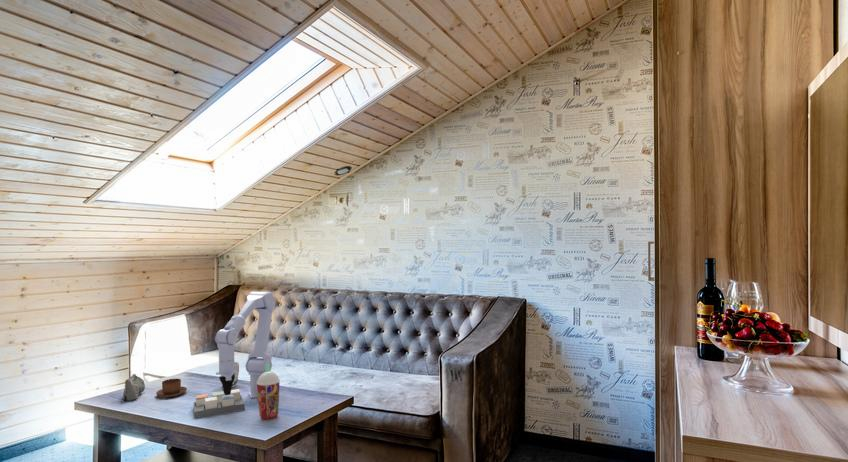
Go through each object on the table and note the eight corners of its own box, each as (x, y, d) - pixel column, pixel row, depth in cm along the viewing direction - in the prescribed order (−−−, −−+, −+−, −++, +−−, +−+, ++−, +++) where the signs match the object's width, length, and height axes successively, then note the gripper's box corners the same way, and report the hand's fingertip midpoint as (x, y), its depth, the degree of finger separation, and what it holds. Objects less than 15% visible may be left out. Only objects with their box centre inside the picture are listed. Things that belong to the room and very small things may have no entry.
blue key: (232, 403, 203) (232, 394, 203) (233, 406, 199) (233, 397, 199) (221, 404, 201) (221, 395, 201) (222, 408, 197) (222, 398, 197)
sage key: (223, 400, 207) (223, 391, 207) (224, 403, 203) (224, 394, 203) (212, 401, 205) (212, 392, 205) (213, 404, 201) (212, 395, 201)
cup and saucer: (157, 393, 225) (156, 379, 225) (187, 389, 230) (186, 375, 230) (155, 401, 214) (155, 386, 214) (186, 396, 219) (186, 382, 219)
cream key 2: (239, 397, 210) (238, 388, 210) (240, 400, 206) (240, 391, 206) (228, 399, 208) (228, 390, 208) (229, 402, 204) (229, 393, 204)
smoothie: (280, 420, 188) (279, 366, 188) (257, 423, 185) (255, 368, 186) (280, 412, 196) (279, 360, 196) (257, 415, 193) (256, 362, 194)
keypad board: (241, 400, 211) (240, 394, 211) (244, 409, 200) (244, 403, 200) (193, 408, 203) (193, 402, 203) (194, 418, 192) (194, 411, 192)
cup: (233, 389, 228) (232, 366, 228) (216, 388, 229) (216, 366, 229) (243, 383, 236) (242, 362, 236) (227, 383, 237) (226, 361, 237)
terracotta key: (207, 402, 204) (207, 393, 204) (208, 405, 201) (207, 396, 201) (196, 404, 203) (195, 395, 203) (196, 407, 199) (196, 398, 199)
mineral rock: (140, 390, 229) (140, 368, 229) (157, 393, 225) (157, 370, 225) (113, 399, 217) (113, 376, 217) (131, 402, 213) (130, 378, 213)
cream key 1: (216, 405, 200) (216, 396, 200) (217, 408, 197) (217, 399, 197) (205, 407, 198) (204, 398, 199) (205, 410, 195) (205, 401, 195)
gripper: (214, 357, 205) (215, 391, 205) (217, 365, 192) (217, 401, 192) (233, 355, 208) (233, 388, 208) (236, 362, 195) (237, 398, 195)
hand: (227, 394), depth 200 cm, fingers closed
